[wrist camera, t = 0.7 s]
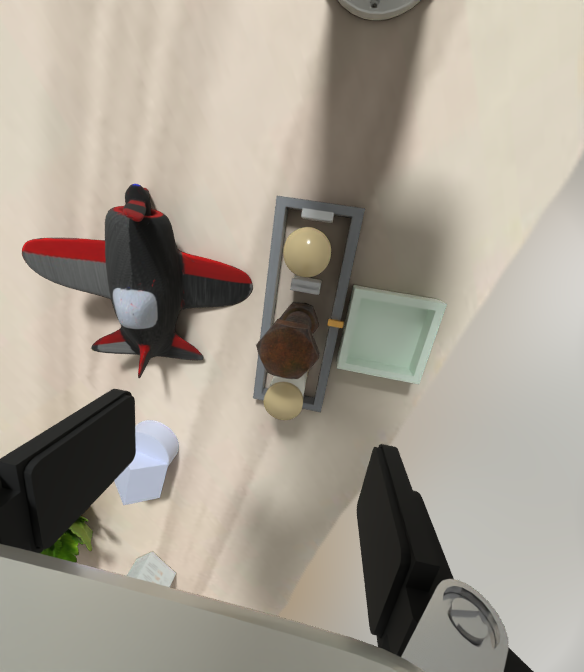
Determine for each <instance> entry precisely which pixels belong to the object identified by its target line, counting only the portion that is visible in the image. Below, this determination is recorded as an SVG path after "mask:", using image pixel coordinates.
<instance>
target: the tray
mask: <svg viewBox="0 0 584 672" xmlns="http://www.w3.org/2000/svg"><path fill="white" fill-rule="evenodd" d="M446 306H447V304H446V303H444V302H442V301H440V300H438V299H433V298H427V297H421V296H416V295H410V294H404V293H398V292H392V291H386V290H380V289H374V288H368V287H362V286H356V285H353V288H352V293H351V297H350V302H349V306H348V311H347V315H346V320H345V324H344V328H343V333H342V337H341V342H340V346H339V351H338V355H337V369H342V370H347V371H353V372H358V373H363V374H368V375H373V376H378V377H384V378H389V379H394V380H399V381H404V382H409V383H415V384H419V383H420V381H421V378H422V375H423V372H424V369H425V366H426V363H427V360H428V358H429V355H430V352H431V349H432V346H433V343H434V340H435V337H436V335H437V332H438V329H439V326H440V323H441V320H442V317H443V315H444V312H445V309H446Z"/></svg>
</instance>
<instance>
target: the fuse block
mask: <svg viewBox="0 0 584 672" xmlns="http://www.w3.org/2000/svg"><path fill="white" fill-rule="evenodd" d="M288 208H289V209H296V210H302V215H301V217H302V218H303V219H307V220H313V221H320V222H326V223H332V222H333V217H334V215H336V216H342V217H349V218H351V223H350V228H349V232H348V237H347V242H346V247H345V252H344V257H343V262H342V267H341V272H340V276H339V281H338V286H337V291H336V296H335V301H334V306H333V311H332V315H331V319H328V324H327V326H329V330H328V335H327V340H326V345H325V350H324V355H323V359H322V364H321V369H320V374H319V379H318V384H317V389H316V394H315V398H313V397H308V396H303V406H302V409H307V410H312V411H317V412H321V408H322V404H323V399H324V395H325V390H326V385H327V381H328V376H329V372H330V367H331V362H332V358H333V353H334V349H335V344H336V340H337V335H338V330H339V328H343V324H344V321H341V317H342V312H343V307H344V303H345V298H346V294H347V289H348V284H349V280H350V275H351V271H352V266H353V262H354V257H355V252H356V248H357V243H358V239H359V234H360V229H361V225H362V220H363V216H364V211H365V208H358V207H351V206H344V205H337V204H331V203H324V202H317V201H310V200H303V199H296V198H290V197H283V196H277V198H276V207H275V215H274V224H273V233H272V241H271V250H270V258H269V267H268V275H267V284H266V293H265V301H264V310H263V318H262V327H261V335H260V339H261V338H262V337H263V336H264V335H265V334H266V332H267V331H268V330H269V329H270V328H271V326H272V325H273V319H274V312H275V304H276V297H277V289H278V281H279V274H280V266H281V258H282V251H283V243H284V235H285V228H286V220H287V213H288ZM321 282H322V280H319V279H313V278H307V277H301V276H295V277H293V278H292V283H291V289H290V290H293V291H299V292H305V293H311V294H317V295H319V292H320V288H321ZM266 373H267V371H266V369H265V368H264V366H263V364H262V361H261V359H260V357H259V354H258V361H257V370H256V378H255V387H254V396H253V398H254V399H259V400H264V396H265V394H266V392H267V390H268V388H265V381H266Z"/></svg>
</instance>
